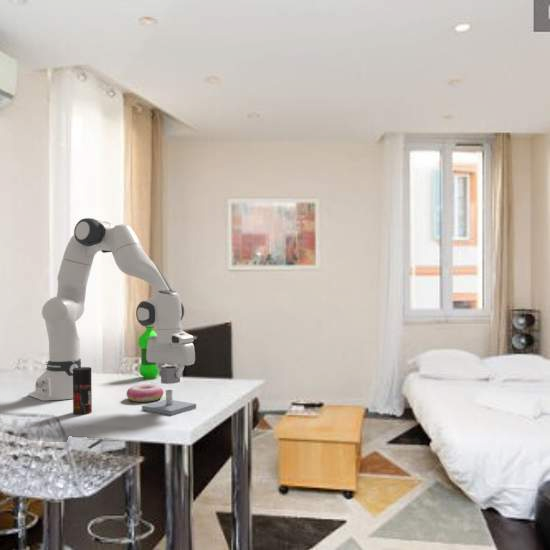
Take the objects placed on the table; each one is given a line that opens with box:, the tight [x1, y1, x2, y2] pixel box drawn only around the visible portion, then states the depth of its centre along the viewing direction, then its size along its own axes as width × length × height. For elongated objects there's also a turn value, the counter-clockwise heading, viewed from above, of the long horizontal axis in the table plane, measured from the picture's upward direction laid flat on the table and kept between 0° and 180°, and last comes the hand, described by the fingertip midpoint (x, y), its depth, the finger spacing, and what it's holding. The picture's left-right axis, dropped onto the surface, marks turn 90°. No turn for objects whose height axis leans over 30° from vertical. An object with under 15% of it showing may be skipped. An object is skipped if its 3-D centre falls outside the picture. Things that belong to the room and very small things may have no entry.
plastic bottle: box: [137, 326, 159, 380], centre depth 252 cm, size 10×10×25 cm
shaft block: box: [141, 389, 197, 416], centre depth 190 cm, size 14×12×6 cm
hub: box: [160, 365, 181, 385], centre depth 190 cm, size 6×6×5 cm
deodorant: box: [72, 366, 93, 416], centre depth 186 cm, size 6×6×15 cm
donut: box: [126, 383, 164, 403], centre depth 206 cm, size 14×13×5 cm
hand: (170, 376), depth 190 cm, fingers closed on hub, 6 cm apart
